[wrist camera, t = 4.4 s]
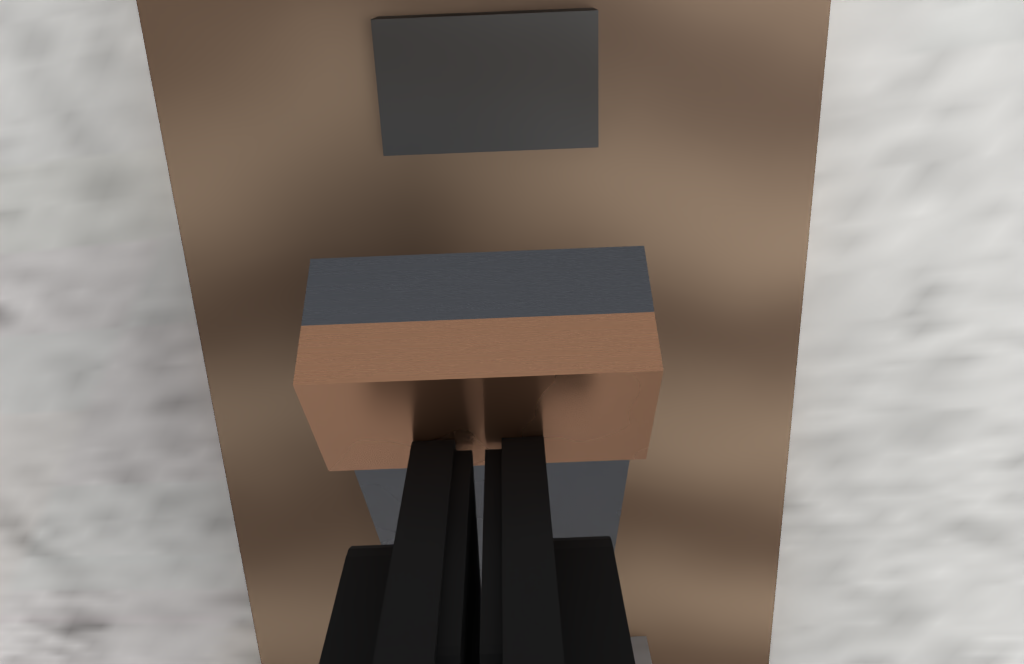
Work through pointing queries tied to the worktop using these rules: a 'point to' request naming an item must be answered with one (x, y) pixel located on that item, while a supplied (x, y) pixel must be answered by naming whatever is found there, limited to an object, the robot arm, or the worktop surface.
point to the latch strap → (484, 370)
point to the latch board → (506, 227)
